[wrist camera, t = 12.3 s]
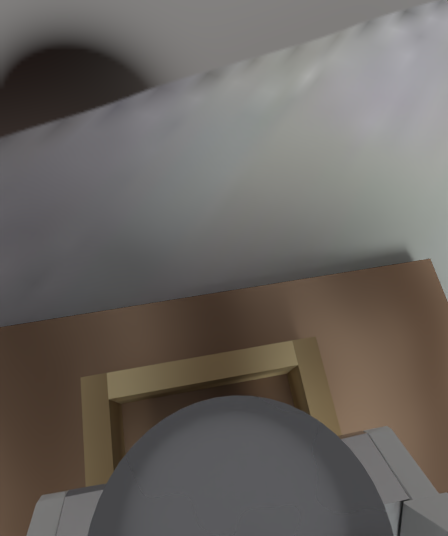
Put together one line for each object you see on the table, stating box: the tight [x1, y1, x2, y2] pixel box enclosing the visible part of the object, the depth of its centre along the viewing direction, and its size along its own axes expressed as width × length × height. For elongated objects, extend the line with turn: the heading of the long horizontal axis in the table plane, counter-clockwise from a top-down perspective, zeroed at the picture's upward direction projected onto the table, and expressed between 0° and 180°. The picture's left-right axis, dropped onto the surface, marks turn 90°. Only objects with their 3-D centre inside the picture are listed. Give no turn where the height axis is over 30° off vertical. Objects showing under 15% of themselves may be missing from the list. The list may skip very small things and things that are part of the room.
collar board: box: [0, 259, 448, 536], centre depth 13 cm, size 20×13×3 cm, turn 100°
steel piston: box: [88, 395, 394, 536], centre depth 9 cm, size 4×4×8 cm
